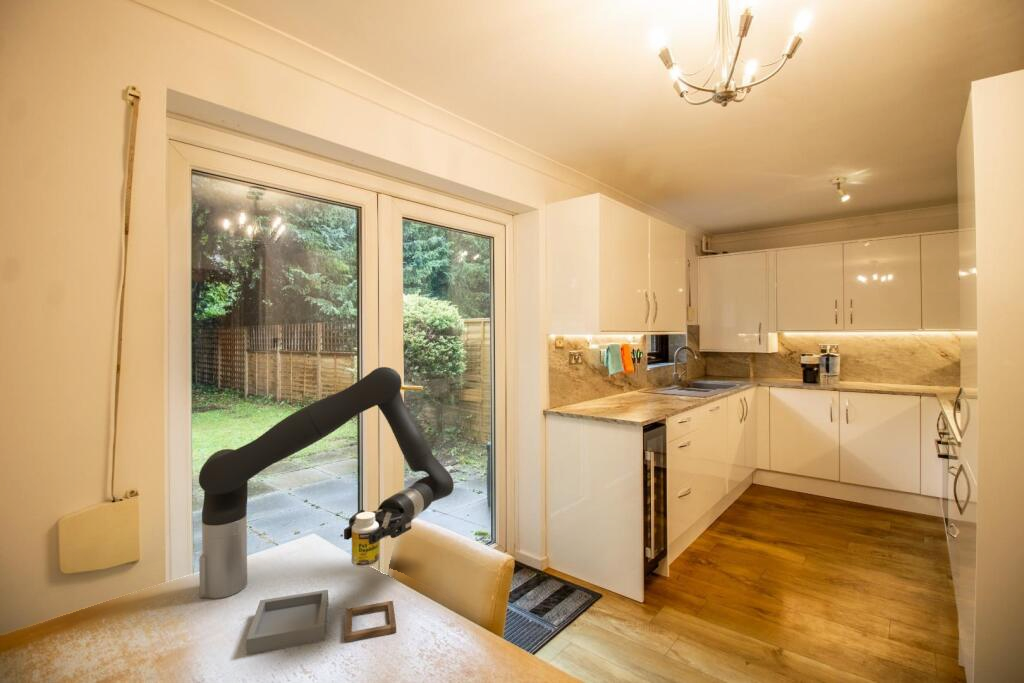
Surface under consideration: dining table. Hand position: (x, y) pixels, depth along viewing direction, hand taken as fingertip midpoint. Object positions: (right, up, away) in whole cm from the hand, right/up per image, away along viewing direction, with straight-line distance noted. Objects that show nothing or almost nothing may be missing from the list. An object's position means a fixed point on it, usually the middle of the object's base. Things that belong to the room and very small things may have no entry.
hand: (358, 537), depth 98 cm
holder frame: (+2, -20, +3) cm, 20 cm away
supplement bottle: (+1, -7, +3) cm, 7 cm away
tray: (-15, -20, +2) cm, 24 cm away
